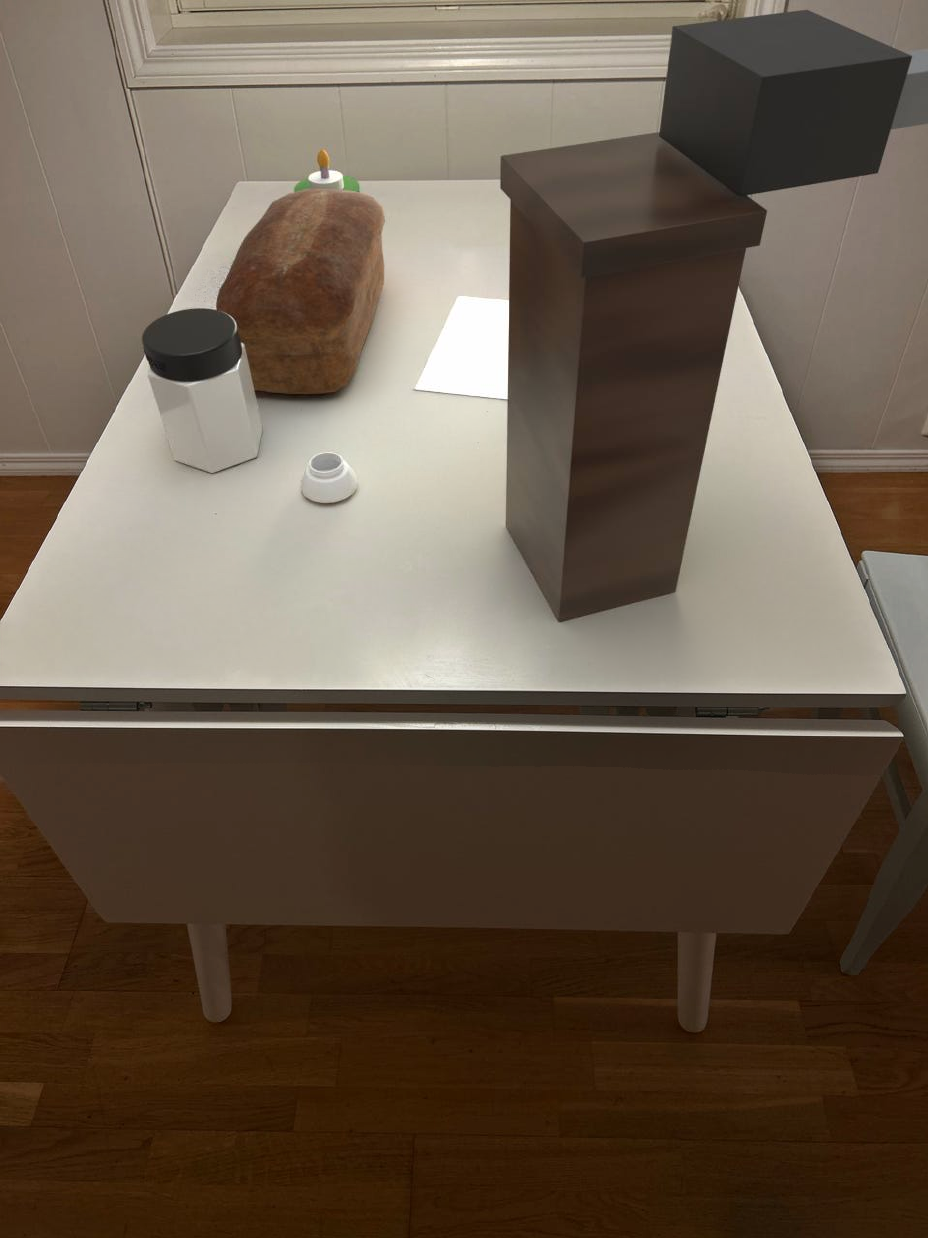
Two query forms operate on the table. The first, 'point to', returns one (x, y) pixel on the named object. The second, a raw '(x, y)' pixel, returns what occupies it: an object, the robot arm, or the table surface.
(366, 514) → the table surface
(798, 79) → the sledgehammer head
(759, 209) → the stand
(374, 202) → the bread
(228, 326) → the jar
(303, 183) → the candle
